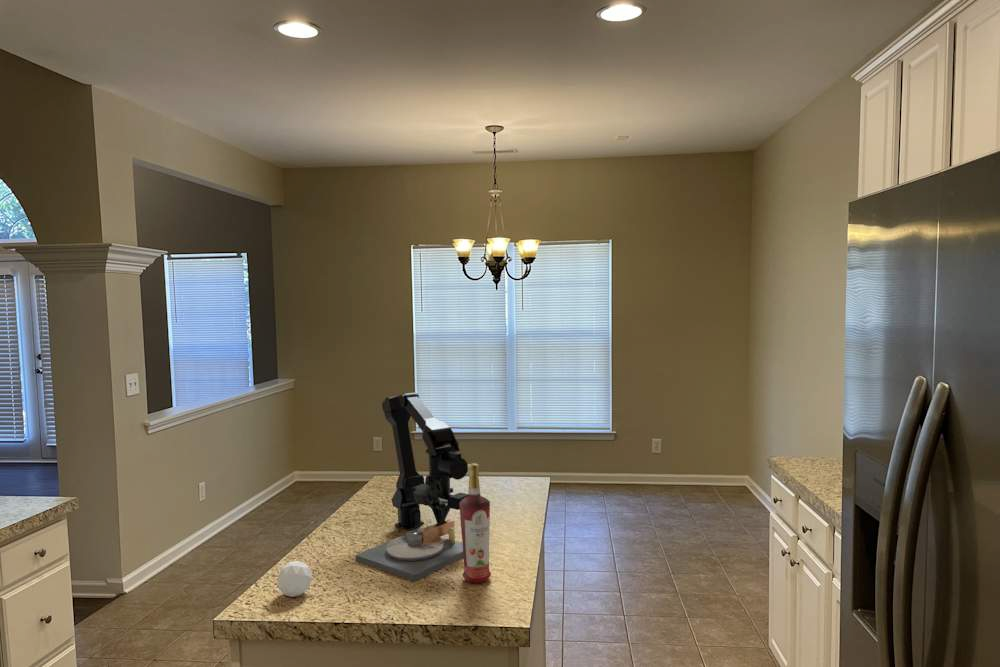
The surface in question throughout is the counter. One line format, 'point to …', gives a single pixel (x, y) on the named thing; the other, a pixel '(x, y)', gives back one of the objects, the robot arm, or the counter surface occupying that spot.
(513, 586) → the counter surface
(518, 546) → the counter surface
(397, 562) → the post plate
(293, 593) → the ball
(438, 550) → the grey disc with handle
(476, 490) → the liquor
